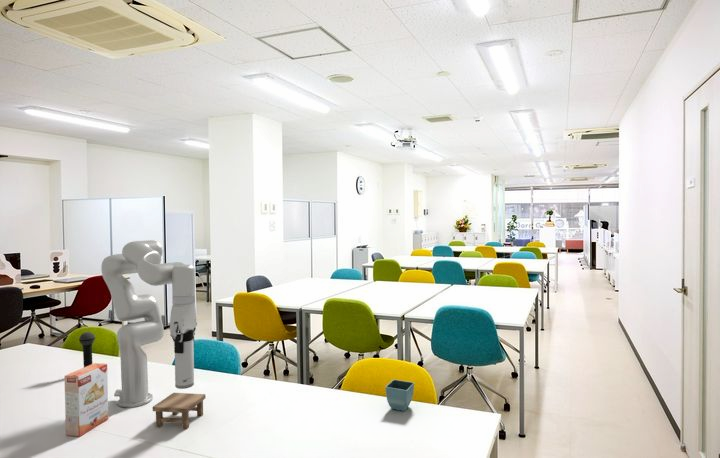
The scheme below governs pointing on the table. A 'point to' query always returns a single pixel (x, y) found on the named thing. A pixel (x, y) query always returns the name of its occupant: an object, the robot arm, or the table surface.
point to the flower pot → (399, 394)
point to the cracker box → (86, 399)
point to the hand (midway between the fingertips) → (184, 349)
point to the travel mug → (185, 363)
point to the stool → (179, 408)
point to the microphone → (87, 347)
